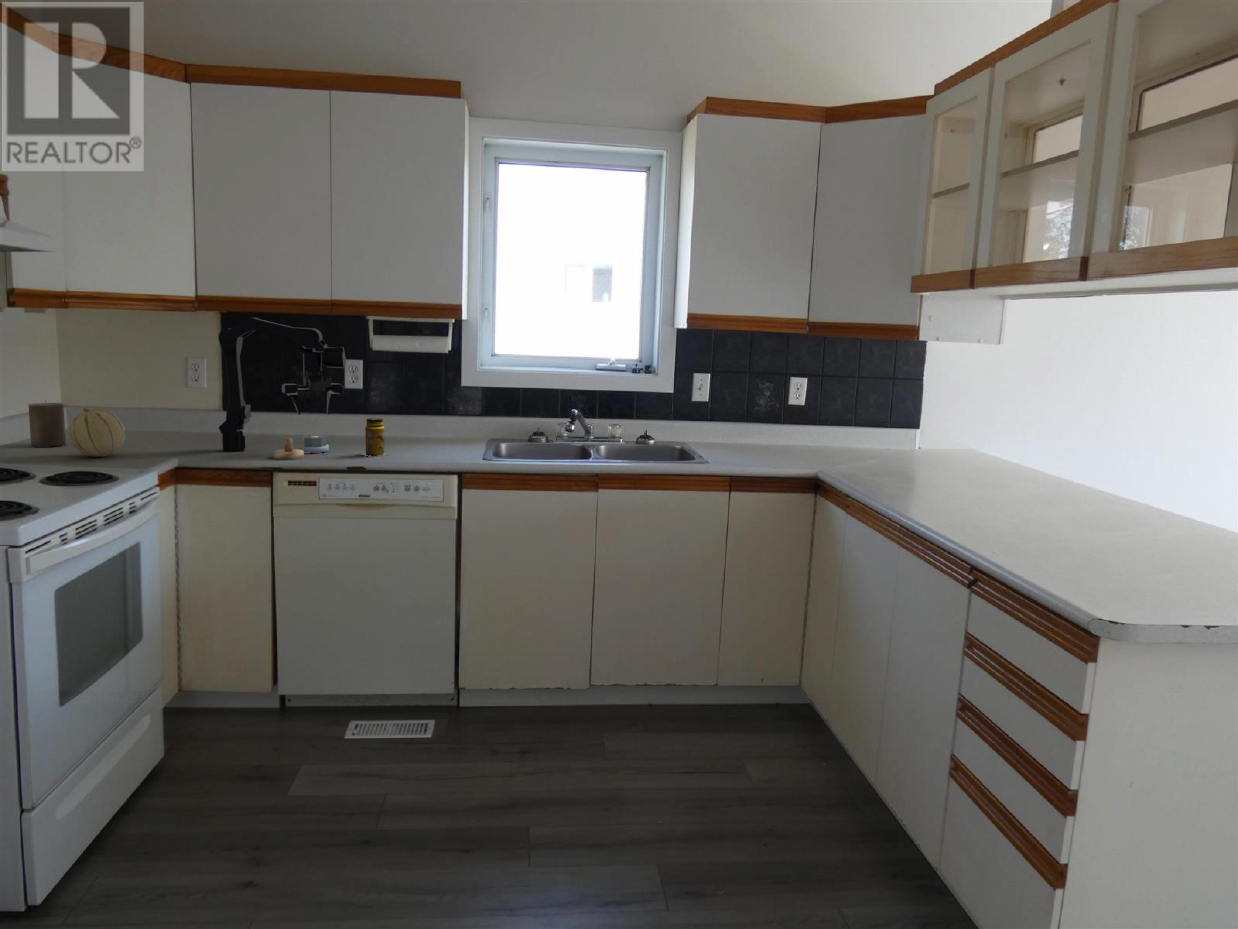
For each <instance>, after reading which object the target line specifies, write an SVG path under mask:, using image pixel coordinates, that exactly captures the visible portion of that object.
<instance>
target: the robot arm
mask: <svg viewBox="0 0 1238 929" xmlns="http://www.w3.org/2000/svg"><path fill="white" fill-rule="evenodd" d="M255 331H257V332H262V333H266V334H271V335H274V336H279V337H283V338H288V339H290V340H292V341H294V342H297V343H299V344H302V345H300V347H299V348H298V349H297V350H296V352H295V353H297V354H302V364H303V366H302V368H303V373H302V374H303V385H298V384H296V383H283V384H282V385H281V392H282V393H283V394H285V395H286V396H288V397H290V399H291V400H292V403H293V405H294V408H295V410H296V413H297V415H299V416H301V406H300V400H299V397H300V396H299V395H300V394H298V392H327V393H326V414H327V415H330V412H331V409H332V406H333V403H334V401H335V399H336V398H337V396H340V394H344V393H345V391H344V390H345V388H344V385H343V384H342V383H336V382H335V383H334V382H333V383H332V377H331V375H325V376H323V366H322V364H323V365H324V366H326V368H333V369H334V368H336V369H339V368H340V369H345V368H346V365H347V364H346V362H347V361H346V360H347V358H346V357H347V356H346V353H345V348H344V346H338V347H334V346H333V347H329V345H328V344H327V343H326V342H325V340H324V339H323V335H322V332H321V331H320V330H319V329H317V328H309V327H295V326H294V327H293V326H290V325H285V324H280V323H276V322H274V321H273V322H272V321H268V320H264V319H261V318H259V317H252V316H251V317H248V318H247V319H246V320H243V321H242V322H241V323H238V324H236V325H234V326H233V327H231V328H223V329H222V330H221V331H220V332H219V333H218V342H219V345H220V349H221V351H222V353H223V356H224V359H225V368H226V369H225V371H226V380H227V393H228V403H227V406H226V407H227V408H226V413H225V414H226V415H225V421H223V423H221V424H220V425H219V426H218V429H219V432H220V436H221V439H220V440H221V447H220V450H221V451H222V452H224V453H227V452H245V451H246V450H245V449H246V436H245V435H244V432H243V430H244V428H245V426H246V425H248V423H249V422H250V419H251V418H252V416H253V415H252V413H251V404H246V401H245V399H244V390H243V382H242V381H243V379H242V370H241V369H242V368H241V367H242V365H241V358H240V357H241V352H242V349H243V348H242V347H243V343H244V342H243V340H244V339H245V338H246V337H248V336H250V334H252V333H254V332H255ZM305 346H306V347H305ZM316 350H317V351H316Z"/></svg>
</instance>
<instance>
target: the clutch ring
mask: <svg viewBox="0 0 1238 929" xmlns="http://www.w3.org/2000/svg"><path fill="white" fill-rule="evenodd" d="M311 436H318V437H311ZM326 444H327V436H325V435H320V434H317V435H315V434H313V435H311V434H310V435H303V436H302V445H303V446H304V447H323V446H326Z"/></svg>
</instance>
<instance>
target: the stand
mask: <svg viewBox="0 0 1238 929" xmlns="http://www.w3.org/2000/svg"><path fill="white" fill-rule="evenodd" d="M283 441H284V444H283V445H284V449H276V450H273V459H274V460H283V461H284V460H285V461H286V460H287V461H288V460H301V459H303V458H302V457H305V456H304V455H305V453H304V451H303V450H300V449H297V448H294V447H293V446H294V445H293V438H292V437H291V438H290V437H285V438H284V439H283Z"/></svg>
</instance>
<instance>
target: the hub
mask: <svg viewBox="0 0 1238 929" xmlns="http://www.w3.org/2000/svg"><path fill="white" fill-rule="evenodd" d="M311 437H318V436H311ZM329 446H330V445H329V444H328V443H326V446H323V447H304V446H303V444H300V445H299V450H303V451H304V452H310V453H317V454H322V453H321V452H326V453H329V452H330V447H329ZM310 453H309V454H310Z"/></svg>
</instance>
